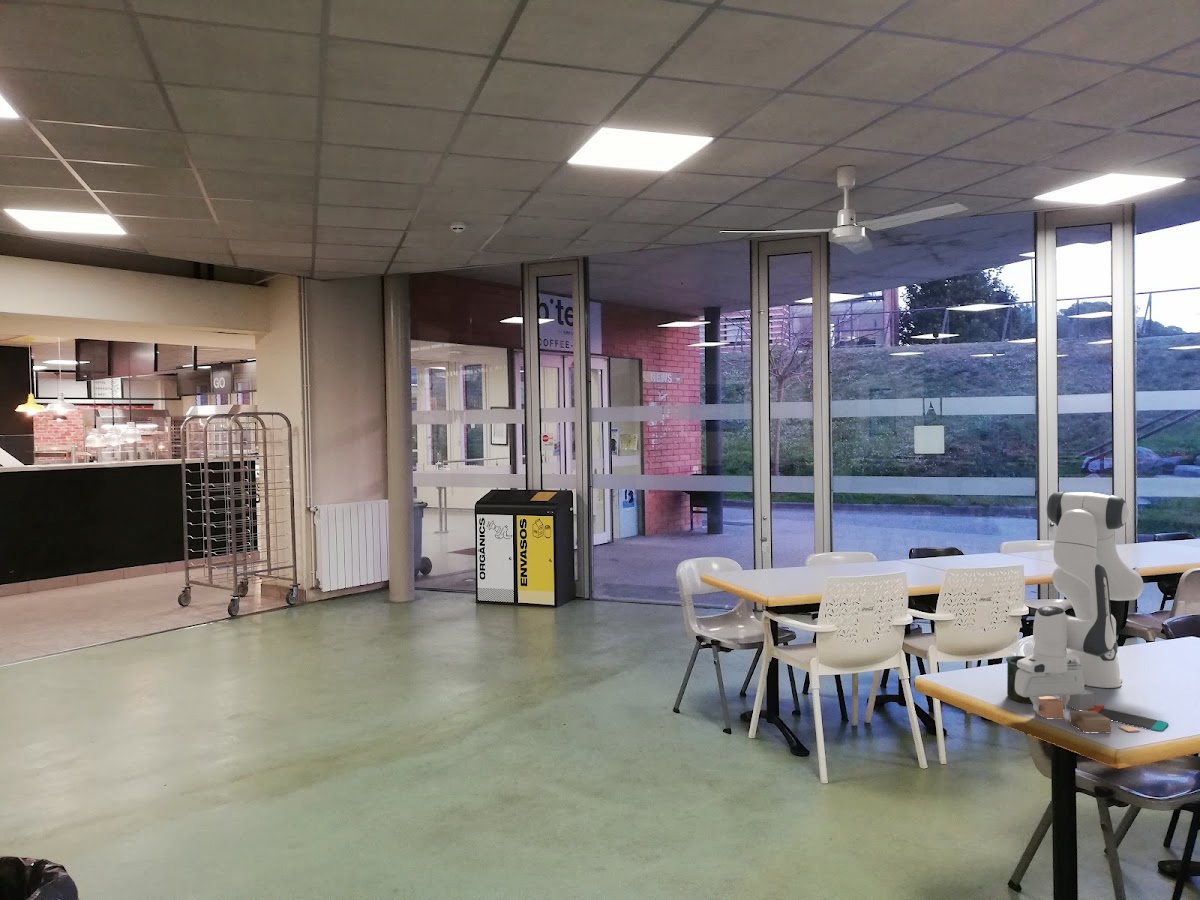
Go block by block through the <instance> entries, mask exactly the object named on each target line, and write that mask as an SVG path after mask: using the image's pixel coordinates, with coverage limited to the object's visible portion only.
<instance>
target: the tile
mask: <svg viewBox="0 0 1200 900" xmlns="http://www.w3.org/2000/svg"><path fill="white" fill-rule="evenodd" d="M1118 727H1119V728H1118ZM1118 727H1117V728H1118V729H1120V728H1121V729H1120V730H1122V729H1123V731H1124V730H1125V732H1126V731H1128V732H1127V733H1139V731H1140V732H1141V730H1140V729H1138V728H1136V727H1134V726H1131V725H1120V726H1118Z"/></svg>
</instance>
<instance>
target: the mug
mask: <svg viewBox="0 0 1200 900" xmlns="http://www.w3.org/2000/svg"><path fill="white" fill-rule="evenodd" d="M1025 657H1027V656H1023V655H1014V656H1013V655H1010V656H1007V657H1006V658H1005V661H1006V664H1007V669H1006V670H1007V672H1006V673H1007V681H1006V682H1007V683H1006V684H1007V685H1006V686H1007V687H1006V688H1007V692H1006V693H1007V696H1008V699H1010V700H1013V701H1015V702H1020V703H1025V704H1033V703H1032V701H1031V700H1030V697H1023V696H1020V695H1018V694H1017V693H1016V691H1015V676H1016V672H1017V670H1018V669H1020V668H1019V667H1017V661H1018V660H1020V659H1023V658H1025ZM1040 697H1045V696H1040Z"/></svg>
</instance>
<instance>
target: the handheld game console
mask: <svg viewBox="0 0 1200 900" xmlns="http://www.w3.org/2000/svg"><path fill="white" fill-rule="evenodd" d="M1087 711H1096V712H1097V713H1099V714H1101V715H1103V716H1105V717H1107V718H1109V719H1110V720H1113V721H1112V722H1114V721H1118V722H1122V723H1121V724H1123V723H1125V724H1124V725H1127V724H1129V725H1128V726H1131V725H1134V726H1133V727H1136V726H1138V727H1137V728H1140V727H1143V728H1142V729H1145V728H1146V730H1149V729H1151V730H1150V731H1155V732H1164V731H1165V730H1166V729H1167V728H1168V727H1169V723H1168V722H1167V721H1164V720H1162V719H1161V720H1159V719H1158V720H1157V719H1154V718H1150V717H1146V716H1140V715H1138V714H1137V715H1136V714H1131V713H1126V712H1123V711H1118V710H1115V709H1114V710H1113V709H1108V708H1105V706H1104V705H1100V704H1094V708H1091V709H1089V710H1087ZM1118 722H1117V723H1118Z"/></svg>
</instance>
